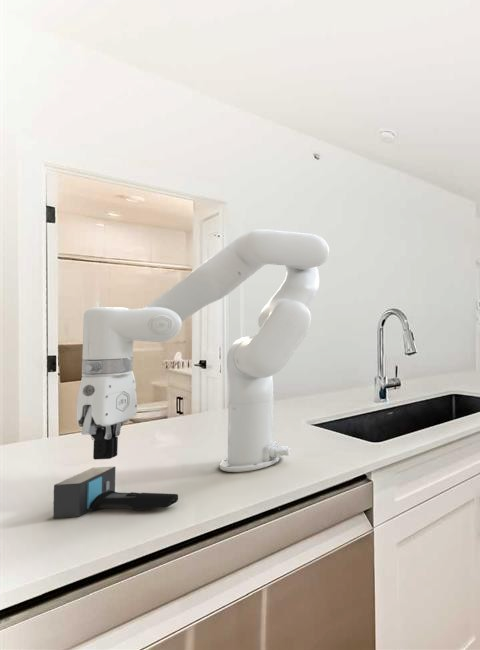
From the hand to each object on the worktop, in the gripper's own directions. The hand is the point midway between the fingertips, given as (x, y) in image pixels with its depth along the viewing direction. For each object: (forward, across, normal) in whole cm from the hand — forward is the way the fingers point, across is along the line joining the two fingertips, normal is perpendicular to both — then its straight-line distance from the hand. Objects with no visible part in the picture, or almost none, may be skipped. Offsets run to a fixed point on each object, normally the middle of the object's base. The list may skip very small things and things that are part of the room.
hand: (105, 457), depth 86 cm
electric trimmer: (+8, -7, -10) cm, 15 cm away
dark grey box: (+5, 0, 0) cm, 5 cm away
